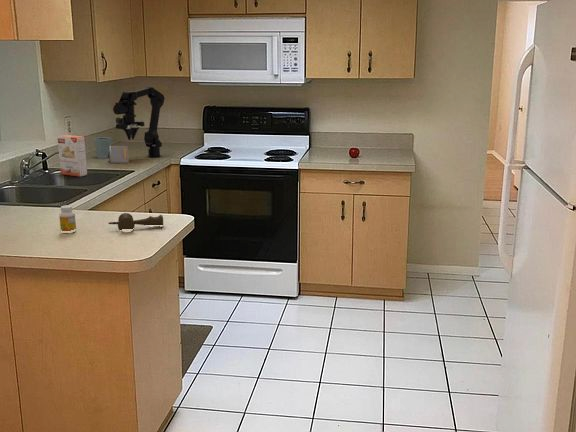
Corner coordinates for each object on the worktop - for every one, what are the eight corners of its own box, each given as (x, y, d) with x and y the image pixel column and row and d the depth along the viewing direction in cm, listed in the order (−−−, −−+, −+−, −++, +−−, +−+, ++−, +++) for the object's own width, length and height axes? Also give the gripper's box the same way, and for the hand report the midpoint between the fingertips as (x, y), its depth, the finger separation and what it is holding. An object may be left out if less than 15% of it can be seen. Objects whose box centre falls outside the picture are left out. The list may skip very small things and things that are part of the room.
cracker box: (60, 174, 338) (56, 135, 333) (68, 172, 343) (65, 134, 338) (79, 177, 332) (76, 137, 326) (87, 175, 337) (84, 136, 331)
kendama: (164, 232, 234) (108, 234, 229) (162, 226, 243) (108, 228, 238) (164, 216, 233) (107, 218, 228) (162, 210, 242) (108, 212, 237)
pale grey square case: (110, 162, 372) (109, 146, 370) (110, 162, 374) (109, 146, 371) (128, 162, 372) (127, 146, 370) (128, 162, 374) (127, 146, 371)
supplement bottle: (57, 232, 231) (55, 206, 228) (70, 229, 235) (68, 204, 233) (66, 235, 228) (64, 209, 225) (79, 231, 232) (77, 206, 229)
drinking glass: (99, 159, 386) (97, 139, 383) (92, 157, 393) (91, 138, 390) (115, 157, 392) (113, 138, 389) (108, 155, 400) (106, 136, 397)
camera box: (107, 162, 374) (106, 149, 372) (110, 160, 381) (109, 148, 379) (121, 162, 374) (120, 149, 372) (124, 160, 381) (123, 148, 379)
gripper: (130, 111, 384) (131, 136, 388) (107, 113, 368) (109, 140, 372) (144, 112, 379) (145, 138, 383) (122, 114, 363) (123, 141, 367)
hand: (131, 139), depth 376 cm, fingers open, 3 cm apart
